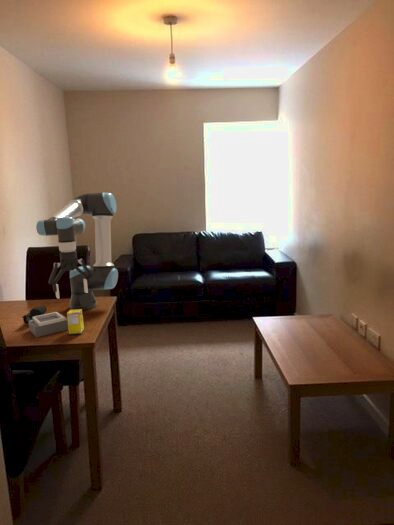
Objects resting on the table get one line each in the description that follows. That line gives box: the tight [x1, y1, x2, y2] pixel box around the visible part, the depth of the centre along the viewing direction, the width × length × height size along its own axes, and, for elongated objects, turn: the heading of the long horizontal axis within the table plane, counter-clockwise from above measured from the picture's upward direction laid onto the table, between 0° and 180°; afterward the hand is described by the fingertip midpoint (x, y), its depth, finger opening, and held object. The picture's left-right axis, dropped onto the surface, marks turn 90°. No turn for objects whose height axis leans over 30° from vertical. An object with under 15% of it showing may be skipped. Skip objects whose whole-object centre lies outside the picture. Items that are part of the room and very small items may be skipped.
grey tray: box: [28, 311, 69, 338], centre depth 208 cm, size 16×12×6 cm
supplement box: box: [66, 309, 85, 336], centre depth 202 cm, size 6×6×11 cm
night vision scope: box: [21, 305, 47, 325], centre depth 221 cm, size 8×18×10 cm
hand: (72, 295), depth 199 cm, fingers open, 13 cm apart
